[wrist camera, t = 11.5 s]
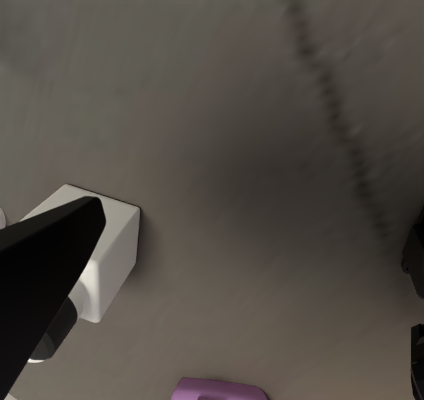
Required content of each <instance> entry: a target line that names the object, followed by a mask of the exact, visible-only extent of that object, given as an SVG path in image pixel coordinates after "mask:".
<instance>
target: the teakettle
mask: <svg viewBox="0 0 424 400" xmlns="http://www.w3.org/2000/svg"><path fill="white" fill-rule="evenodd" d="M171 400H268V399H267V397H266V395H265V393H264V392H263V391H262V390H261V389H260V388H258V387H256V386H251V385H245V384H239V383H232V382H224V381H217V380H208V379H198V378H182V379H181V381H180V382H179V383H178V385H177V387H176V388H175V390H174V392H173V394H172V397H171Z"/></svg>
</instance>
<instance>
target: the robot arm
mask: <svg viewBox="0 0 424 400" xmlns="http://www.w3.org/2000/svg"><path fill="white" fill-rule="evenodd" d="M105 226H106V216H105V213H104V209H103V205H102V202H101V200H100V198H98V197H94V196H84V197H81V198H78V199H76V200H73V201H71V202H68V203H66V204H63V205H61V206H58V207H56V208H53V209H51V210H48V211H46V212H43V213H40V214H38V215H35V216H33V217H30V218H28V219H25V220H23V221H20V222H18V223H15V224H13V225H10V226H7V227H5V228H2V229H0V400H4V399H5V397H6V396H7V394H8V393H9V391H10V389H11V388H12V386H13V384H14V383H15V381H16V380H17V378H18V376H19V375H20V373H21V372H22V370H23V368H24V367H25V365H26V363H27V362H28V360H29V359H30V357H31V355H32V354H33V352H34V350H35V349H36V347H37V346H38V344H39V342H40V341H41V339H42V338H43V336H44V334H45V333H46V331H47V329H48V328H49V326H50V325H51V323H52V321H53V320H54V318H55V316H56V315H57V313H58V312H59V310H60V308H61V307H62V305H63V304H64V302H65V300H66V299H67V297H68V295H69V294H70V292H71V291H72V289H73V287H74V286H75V284H76V283H77V281H78V279H79V278H80V276H81V274H82V273H83V271H84V269H85V267H86V266H87V264H88V262H89V260H90V258H91V256H92V253H93V251H94V249H95V247H96V245H97V243H98V241H99V239H100V237H101V235H102V233H103V231H104V228H105ZM402 254H403V256H404V258H403V260H402V263H401V267H402V270H403V272H405V273H407V274H410V276H411V278H412V281H413V284H414V286H415V289H416V292H417V294H418V296H419V297H420V298H421V299H424V208H423V210H422V213H421V215H420V218H419V220H418V223H417V224H415V225H414V226H413V227H412V229H411V232H410V234H409V237H408V239H407V242H406V244H405V247H404V249H403V252H402ZM411 383H412V389H413V396H414V398H415V400H424V324H423V325H422V324H418V325H416V326H413V327H411Z"/></svg>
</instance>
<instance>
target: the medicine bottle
mask: <svg viewBox="0 0 424 400" xmlns="http://www.w3.org/2000/svg"><path fill="white" fill-rule="evenodd" d="M84 196H94V197H98V198H100V200H101V202H102V205H103V209H104V213H105V216H106V226H105V228H104V231H103V233H102V235H101V237H100V239H99V241H98V243H97V245H96V247H95V249H94V251H93V253H92V256H91V258H90V260H89V262H88V264H87V266H86V267H85V269H84V271H83V273H82V274H81V276H80V278H79V279H78V281H77V283H76V284H75V286H74V287H73V289H72V291H71V292H70V294H69V295H68V297H67V299H66V300H65V302H64V304H63V305H62V307H61V308H60V310H59V312H58V313H57V315H56V316H55V318H54V320H53V321H52V323H51V325H50V326H49V328H48V329H47V331H46V333H45V334H44V336H43V338H42V339H41V341H40V342H39V344H38V346H37V347H36V349H35V350H34V352H33V354H32V355H31V357H30V359H29V360H28V362H34V363H35V362H42V361H44V360H47V359H49V358H51V357H52V356H53V355H54V353H55V352H56V350H57V349H58V348H59V346H60V345H61V343H62V342H63V340H64V339H65V337H66V336H67V335H68V333H69V332H70V330H71V329H72V327H73V326H74V324H75V323H76V322H77V320H78V319H79V317H80V318H83V319H86V320H88V321H91V322H94V323H97V322H99V321H100V320H101V318H102V317H103V315H104V313H105V312H106V310H107V309H108V307H109V305H110V304H111V302H112V301H113V299H114V297H115V296H116V294H117V293H118V291H119V289H120V288H121V286H122V284H123V283H124V281H125V280H126V278H127V276H128V275H129V273H130V272H131V270H132V268H133V267H134V265H135V263H136V255H137V243H138V231H139V219H140V209H139V208H138V207H136V206H133V205H130V204H127V203H124V202H121V201H118V200H115V199H112V198H108V197H105V196H102V195H99V194H96V193H93V192H90V191H87V190H84V189H80V188H77V187H74V186H71V185H68V184H65V185H63V186H62V187H61V188H59V189H58V190H57V191H56V192H54V193H53V194H52V195H51V196H49V197H48V198H47V199H46V200H44V201H43V202H42V203H41V204H39V205H38V206H37V207H36V208H35V209H33V210H32V211H31V212H30V213H28V214H27V215H26V216H25V217H23V218H22V219H21V220H20V221H23V220H25V219H28V218H30V217H33V216H35V215H38V214H40V213H43V212H46V211H48V210H51V209H53V208H56V207H58V206H61V205H63V204H66V203H68V202H71V201H73V200H76V199H78V198H81V197H84ZM20 221H18V222H20ZM18 222H17V223H18Z"/></svg>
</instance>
